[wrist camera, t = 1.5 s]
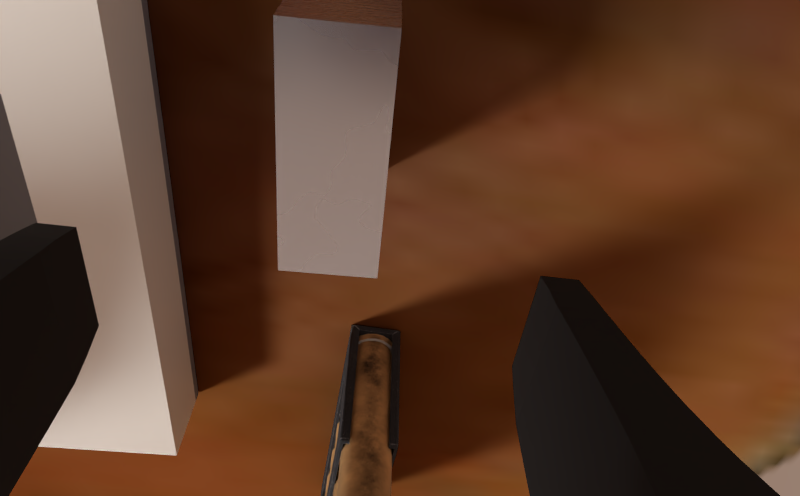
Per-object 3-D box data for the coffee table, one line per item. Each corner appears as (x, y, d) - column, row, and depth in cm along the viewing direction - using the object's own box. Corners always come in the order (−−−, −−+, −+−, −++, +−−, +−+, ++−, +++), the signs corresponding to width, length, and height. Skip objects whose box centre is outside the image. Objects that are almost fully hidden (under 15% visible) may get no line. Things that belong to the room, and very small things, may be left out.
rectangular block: (307, 163, 20) (278, 270, 15) (309, -44, 16) (273, 15, 12) (383, 170, 20) (377, 278, 15) (402, -34, 16) (401, 28, 12)
